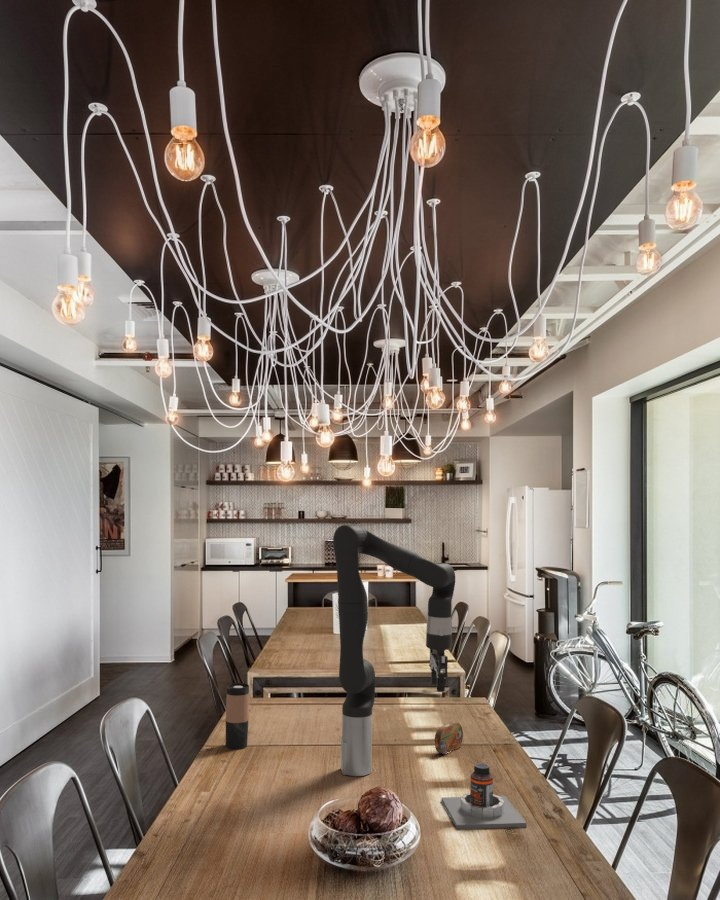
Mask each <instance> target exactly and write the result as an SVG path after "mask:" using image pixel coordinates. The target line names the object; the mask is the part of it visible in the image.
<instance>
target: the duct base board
mask: <svg viewBox="0 0 720 900" xmlns="http://www.w3.org/2000/svg"><path fill="white" fill-rule="evenodd" d="M498 796H499V797H501V798H502V799H503V801H504V812H503V814H502V815H501V816H498V817H495V818H478V817H472V816H470V815H467V814H465V813H463V811H462V810H461V797H462V796H450V797H441V800H440V801H441V803H442V804H443V807H444V808H445V810H446V812H447V814H448V815H449V817H450V819H451V821H452V823H453V824H454V826H455V828H456V830H470V829H471V830H473V829H475V830H477V829H504V828H527V826H528V825H527V824H528V823H527V822H526V820H525V819H524V818H523V817H522V815H521V814H520V812H519V811H518V810H517V809H516V807H514V805H513V804H512V802H510V800H509V798H507V796H506V795H498Z"/></svg>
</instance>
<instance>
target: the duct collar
mask: <svg viewBox="0 0 720 900" xmlns="http://www.w3.org/2000/svg"><path fill="white" fill-rule="evenodd" d="M499 796H500V795H497V794H494V793H493V806H490V807H481V806H476V805H472V804H470V792H468V793H467V792H466V793H464V794H463V795H462V796H460V797H461V810H462V811H463V813H465V814H467V815H470V816H472V817H478V818H495V817H498V816H501V815H502V814H503V812H504V801H503V799H502V798H501V797H499Z"/></svg>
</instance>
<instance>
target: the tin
mask: <svg viewBox="0 0 720 900" xmlns="http://www.w3.org/2000/svg"><path fill="white" fill-rule="evenodd" d="M463 737H464V733H463V726H462V725H461V724H460V723H459V722H449V723H447V724H445V725H443V726H440V727H438V729H436V731H435V734H434V746H435V747H434V748H435V750H436V752H437V753H438V754H441V753H442V754H443V755H447V754H446V753H447V752H450V751H452V750H454V749H456V750H459V748H460V747H461V745H462V743H463ZM454 751H455V750H454ZM452 752H453V751H452ZM450 753H451V752H450Z"/></svg>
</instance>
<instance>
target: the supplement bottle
mask: <svg viewBox="0 0 720 900" xmlns="http://www.w3.org/2000/svg"><path fill="white" fill-rule="evenodd" d="M469 788H470V792H469V793H470V804H472V805H476V806H481V807H490V806H493V794H494V776H493V774H492V773H491V772H490V765H489V764H488V763H481V762H480V763H479V762H478V763H475V764H474V766H473V772H471V774H470V787H469Z"/></svg>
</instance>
